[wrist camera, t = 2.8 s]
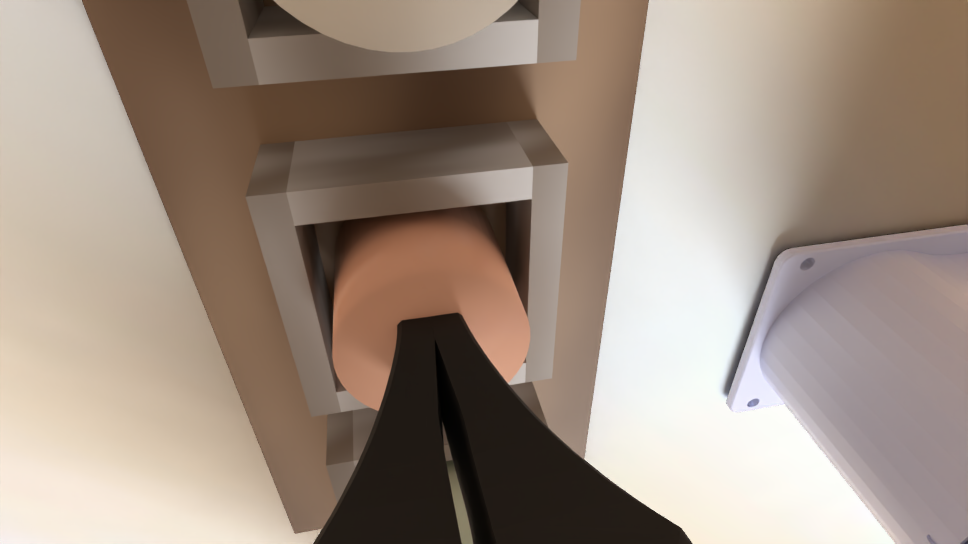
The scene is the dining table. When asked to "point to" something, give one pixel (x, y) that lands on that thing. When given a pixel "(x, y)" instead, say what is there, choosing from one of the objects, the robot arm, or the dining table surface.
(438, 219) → the terracotta button
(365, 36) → the cream button
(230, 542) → the dining table surface
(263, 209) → the button board
